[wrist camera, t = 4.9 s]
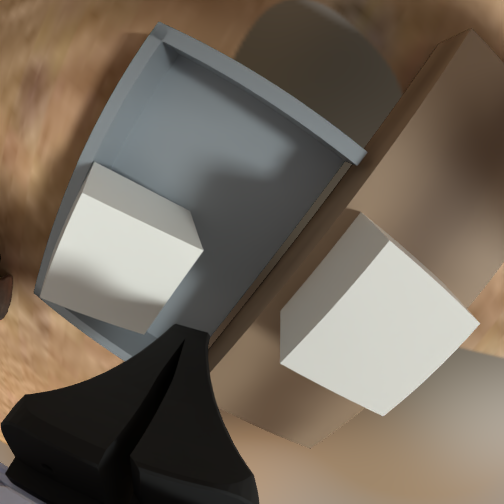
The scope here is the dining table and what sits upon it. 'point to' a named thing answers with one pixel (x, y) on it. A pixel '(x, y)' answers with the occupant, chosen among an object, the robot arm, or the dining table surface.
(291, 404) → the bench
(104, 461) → the robot arm
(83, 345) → the dining table surface
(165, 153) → the tray
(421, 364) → the tile
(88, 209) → the white squarish block
